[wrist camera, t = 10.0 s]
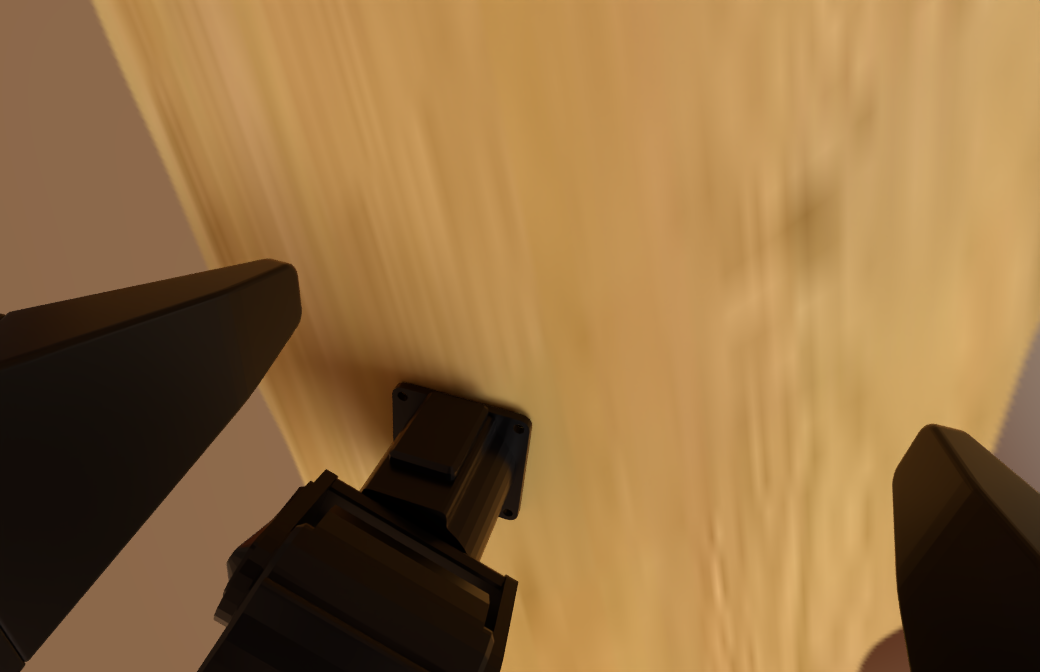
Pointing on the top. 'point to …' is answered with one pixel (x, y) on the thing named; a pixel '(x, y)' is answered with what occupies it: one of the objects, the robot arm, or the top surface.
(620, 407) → the top surface
